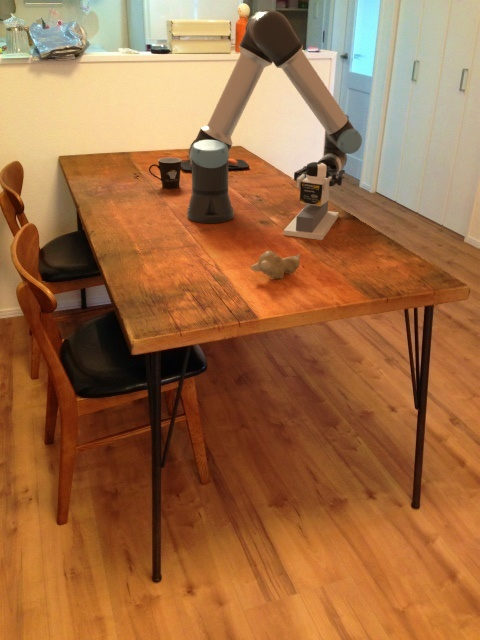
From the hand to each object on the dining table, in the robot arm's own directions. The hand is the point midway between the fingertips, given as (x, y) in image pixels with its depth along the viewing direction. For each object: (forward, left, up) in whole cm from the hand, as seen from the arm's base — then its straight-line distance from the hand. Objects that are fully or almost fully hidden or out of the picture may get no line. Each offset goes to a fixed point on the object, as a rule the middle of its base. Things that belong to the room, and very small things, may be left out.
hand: (311, 184), depth 178 cm
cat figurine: (-36, -14, -14) cm, 41 cm away
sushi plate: (+45, +82, -15) cm, 94 cm away
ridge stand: (+5, +2, -14) cm, 15 cm away
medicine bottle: (+5, +2, -7) cm, 8 cm away
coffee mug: (+6, +69, -14) cm, 70 cm away
